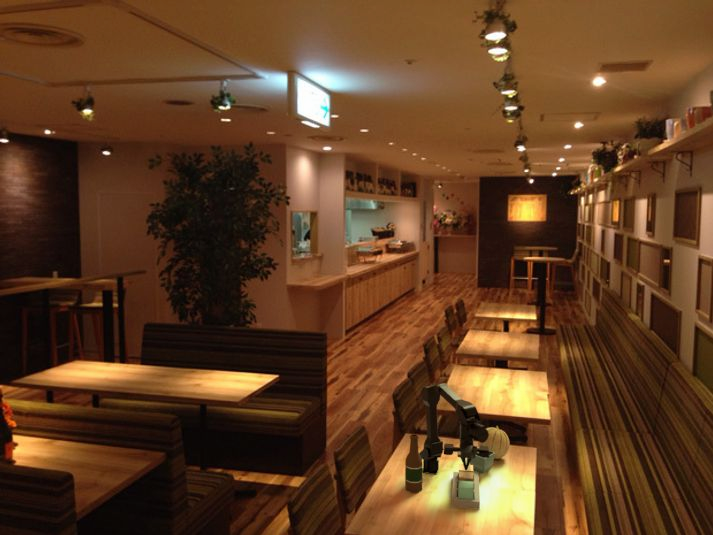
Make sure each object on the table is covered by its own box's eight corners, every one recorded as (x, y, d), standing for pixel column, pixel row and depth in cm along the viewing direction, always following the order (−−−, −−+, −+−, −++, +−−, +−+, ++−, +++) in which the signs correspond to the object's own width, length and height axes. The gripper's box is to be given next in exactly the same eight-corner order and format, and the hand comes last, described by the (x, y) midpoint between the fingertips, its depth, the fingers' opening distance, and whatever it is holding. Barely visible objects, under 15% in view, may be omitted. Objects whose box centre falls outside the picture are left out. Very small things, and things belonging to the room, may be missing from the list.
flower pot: (494, 471, 287) (495, 452, 286) (484, 477, 281) (485, 458, 280) (478, 465, 293) (478, 447, 292) (467, 471, 287) (468, 452, 286)
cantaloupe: (474, 461, 298) (475, 430, 296) (481, 449, 311) (481, 420, 310) (506, 466, 292) (507, 435, 290) (511, 454, 306) (512, 424, 304)
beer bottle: (425, 486, 273) (425, 433, 270) (419, 494, 266) (419, 440, 263) (408, 483, 276) (408, 430, 273) (401, 491, 269) (402, 437, 266)
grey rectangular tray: (451, 507, 255) (452, 500, 255) (453, 478, 281) (453, 471, 280) (479, 509, 253) (479, 502, 253) (478, 480, 279) (478, 473, 278)
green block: (458, 498, 256) (458, 487, 256) (458, 492, 262) (458, 480, 262) (473, 500, 255) (473, 488, 255) (473, 493, 261) (473, 481, 261)
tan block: (458, 488, 264) (458, 477, 264) (458, 482, 270) (458, 471, 269) (473, 490, 263) (473, 478, 262) (473, 483, 269) (473, 472, 268)
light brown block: (458, 481, 272) (458, 470, 271) (458, 474, 278) (459, 464, 277) (472, 482, 271) (473, 471, 270) (472, 475, 277) (473, 465, 276)
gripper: (443, 440, 257) (443, 476, 259) (490, 443, 254) (489, 480, 256) (444, 430, 268) (443, 465, 270) (489, 432, 265) (488, 468, 267)
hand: (466, 469), depth 266 cm, fingers closed
